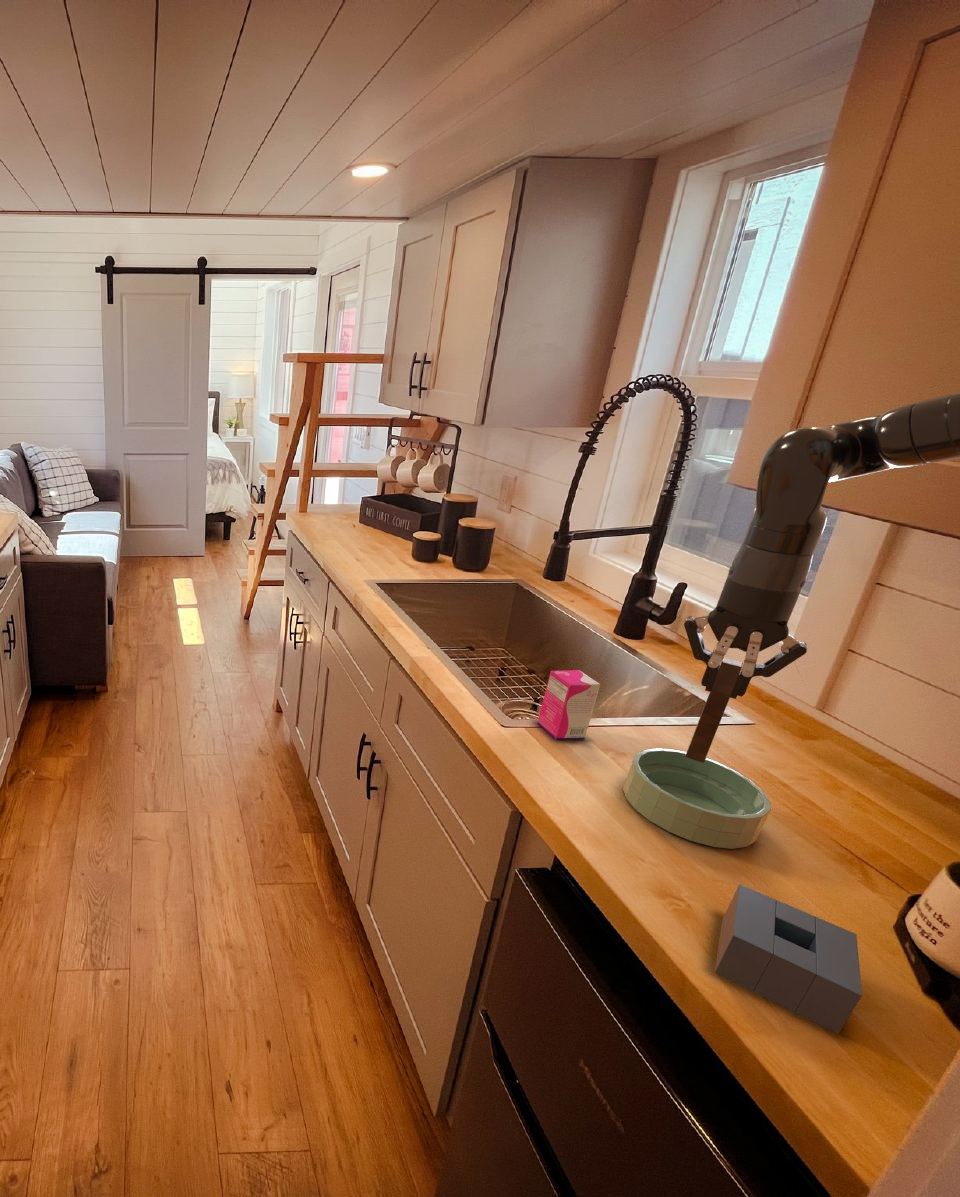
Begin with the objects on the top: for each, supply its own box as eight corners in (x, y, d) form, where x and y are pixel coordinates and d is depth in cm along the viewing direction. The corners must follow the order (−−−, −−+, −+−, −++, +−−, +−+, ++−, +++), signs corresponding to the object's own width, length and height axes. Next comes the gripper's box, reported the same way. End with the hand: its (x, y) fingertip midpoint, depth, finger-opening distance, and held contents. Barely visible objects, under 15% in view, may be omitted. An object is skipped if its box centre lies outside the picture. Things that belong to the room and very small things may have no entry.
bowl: (757, 812, 100) (772, 780, 98) (751, 870, 89) (768, 835, 86) (632, 765, 110) (643, 736, 108) (612, 812, 99) (624, 780, 97)
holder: (834, 971, 74) (856, 933, 72) (837, 1035, 67) (862, 995, 65) (721, 919, 81) (739, 883, 78) (714, 973, 74) (733, 935, 72)
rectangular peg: (705, 756, 97) (743, 662, 91) (703, 763, 95) (742, 667, 89) (687, 750, 98) (723, 657, 92) (685, 757, 97) (721, 661, 91)
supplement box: (564, 722, 122) (580, 669, 118) (585, 740, 117) (603, 685, 113) (535, 722, 122) (550, 669, 118) (554, 741, 116) (571, 685, 112)
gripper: (835, 586, 84) (785, 701, 91) (702, 561, 93) (665, 668, 99) (837, 601, 79) (784, 721, 86) (696, 573, 88) (657, 685, 94)
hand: (720, 692), depth 93 cm, fingers closed on rectangular peg, 2 cm apart
